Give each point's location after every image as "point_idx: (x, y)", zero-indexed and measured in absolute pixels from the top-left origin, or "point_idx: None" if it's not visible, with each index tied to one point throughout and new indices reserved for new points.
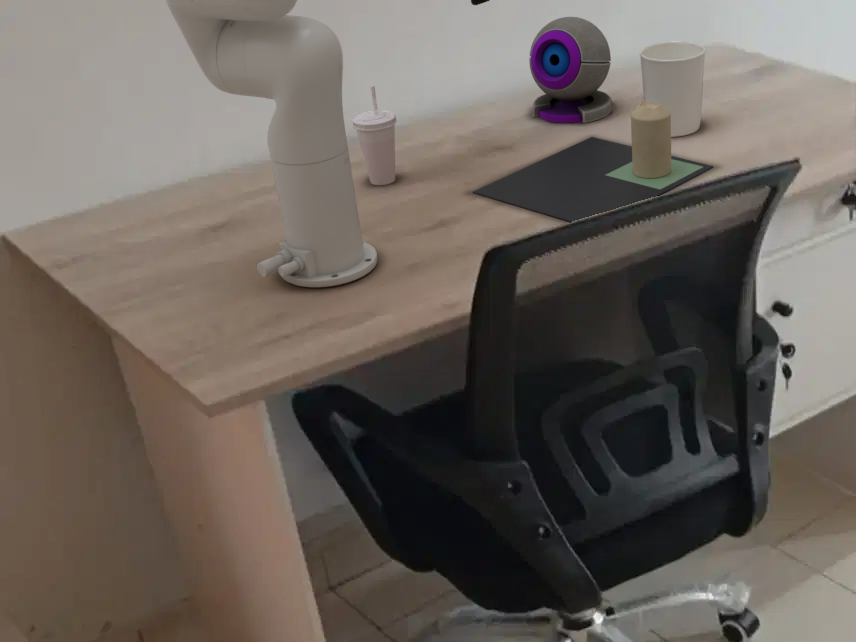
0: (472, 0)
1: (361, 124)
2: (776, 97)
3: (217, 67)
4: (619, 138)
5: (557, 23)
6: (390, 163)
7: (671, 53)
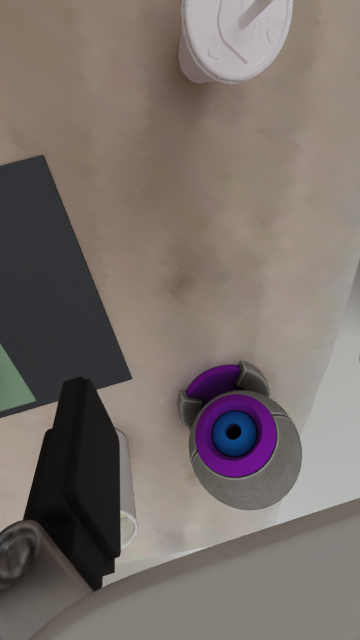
0: (69, 388)
1: None
2: None
3: None
4: (109, 398)
5: (265, 483)
6: (181, 54)
7: (128, 526)
